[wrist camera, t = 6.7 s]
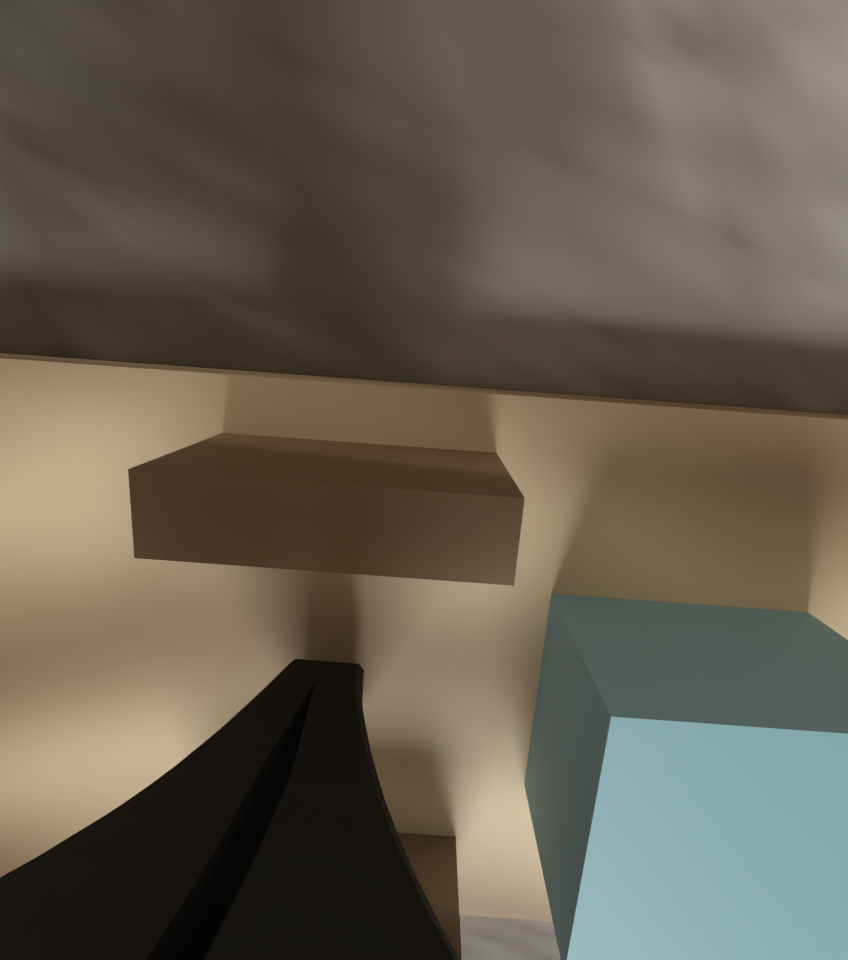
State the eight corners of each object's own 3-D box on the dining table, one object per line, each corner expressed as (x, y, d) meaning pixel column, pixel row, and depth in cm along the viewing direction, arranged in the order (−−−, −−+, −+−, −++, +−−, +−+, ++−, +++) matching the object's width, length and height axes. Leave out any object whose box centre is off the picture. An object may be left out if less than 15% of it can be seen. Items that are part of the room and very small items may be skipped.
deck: (1018, 894, 14) (1297, 1153, 9) (25, 823, 14) (-169, 1047, 9) (1222, 441, 11) (1772, 504, 6) (-43, 349, 11) (-373, 349, 6)
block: (755, 801, 11) (897, 998, 8) (524, 784, 11) (564, 974, 8) (807, 612, 10) (997, 744, 7) (551, 593, 10) (611, 716, 7)
